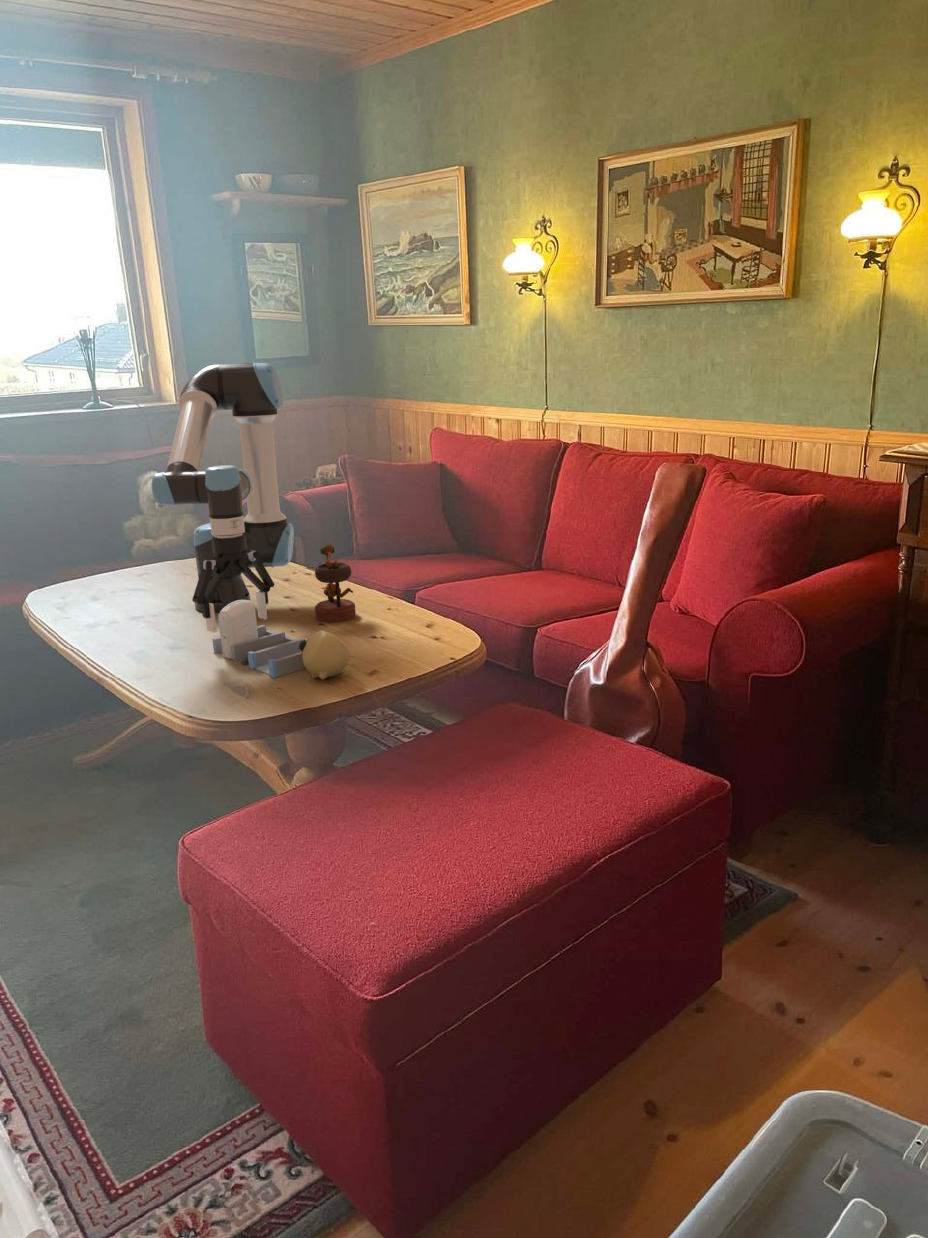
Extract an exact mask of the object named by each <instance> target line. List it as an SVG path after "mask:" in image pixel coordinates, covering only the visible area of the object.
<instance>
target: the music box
mask: <svg viewBox="0 0 928 1238" xmlns="http://www.w3.org/2000/svg"><path fill="white" fill-rule="evenodd" d="M319 553H320V555H324V556H325V563H322V564H320V565H318V566H317V567H316V568H315V571H314V576H315V578H316V580H317V581H318V582H321V583H323V584H324V583H325V584H326V587H325V589H324V590H323V594H324V595H325V596H327V599H326V600H321V601H319V602H318V603H316V605H315V606H314V613H315V620H316V621H317V622H319V623H326V624H337V623H344V622H348V621H351V620H354V619H355V618H356V616H357V614H356V613H357V612H356V604H355V602H353V601H352V600H350V599H347V598H343V597H345V596H347V594H348V593H352V594H353V593H354V591H353V590H352V589H351V588H350V587H347V588H346V589H344V591H342V590H341V588H340V583H342V582H346V581H347V580H349V579H350V577H351V575H352V568H351V566H350V565H349V564H347V563H345V562H338V560H337V559H334V560H333V562H332V560H329V558H331V556H332V554H334V553H335V547H334V546H333V545H332V544H330V543H326V544H325V545H324V546H322V547H321V548H320V549H319ZM335 597H336V598H335Z"/></svg>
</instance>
